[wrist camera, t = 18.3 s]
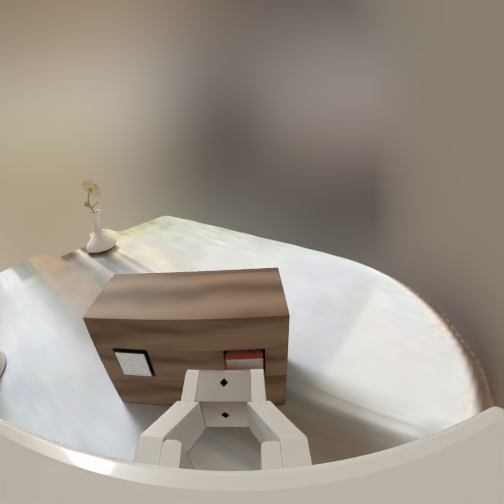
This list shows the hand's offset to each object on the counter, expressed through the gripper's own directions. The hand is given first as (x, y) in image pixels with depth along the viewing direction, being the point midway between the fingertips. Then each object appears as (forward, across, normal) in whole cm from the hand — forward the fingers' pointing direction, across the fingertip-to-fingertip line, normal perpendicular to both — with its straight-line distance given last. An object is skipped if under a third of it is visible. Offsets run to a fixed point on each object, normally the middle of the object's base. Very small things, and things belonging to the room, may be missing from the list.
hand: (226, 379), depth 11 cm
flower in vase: (+79, +50, +27) cm, 97 cm away
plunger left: (+20, +14, +19) cm, 31 cm away
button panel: (+21, +6, +26) cm, 34 cm away
